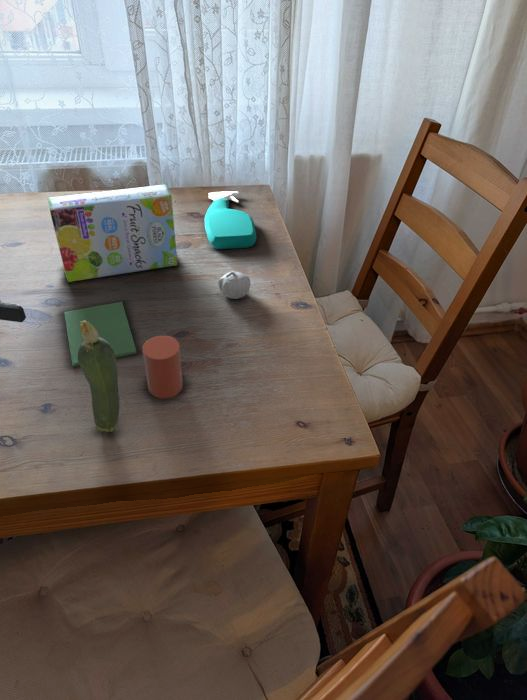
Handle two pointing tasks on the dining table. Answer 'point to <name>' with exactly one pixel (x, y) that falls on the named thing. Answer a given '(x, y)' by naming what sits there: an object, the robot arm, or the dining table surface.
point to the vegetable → (100, 376)
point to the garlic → (234, 284)
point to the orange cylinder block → (163, 366)
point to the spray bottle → (228, 223)
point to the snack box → (114, 231)
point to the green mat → (101, 328)
